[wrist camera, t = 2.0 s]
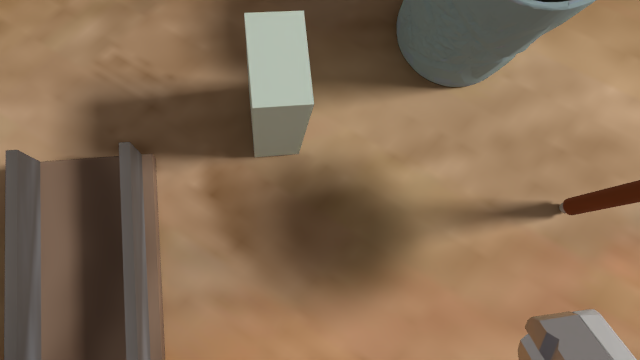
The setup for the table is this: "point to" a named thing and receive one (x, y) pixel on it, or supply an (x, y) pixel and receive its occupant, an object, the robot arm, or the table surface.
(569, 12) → the blue-grey cylindrical cup
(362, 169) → the table surface
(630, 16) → the table surface
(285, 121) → the pale green eraser block
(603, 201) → the magnifying glass
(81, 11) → the table surface
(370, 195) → the table surface
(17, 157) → the track
